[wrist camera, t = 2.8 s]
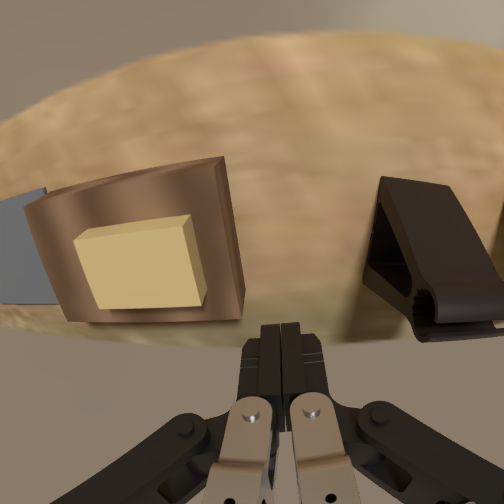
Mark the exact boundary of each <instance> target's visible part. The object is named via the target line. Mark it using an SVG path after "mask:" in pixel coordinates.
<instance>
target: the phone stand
mask: <svg viewBox="0 0 504 504" xmlns="http://www.w3.org/2000/svg"><path fill="white" fill-rule="evenodd" d="M372 229H373V233H372V234H371V239H370V245H369V250H368V255H367V260H366V265H365V269H364V274H363V284H364V285H366V286H367V287H368V288H370V289H371V290H372V291H374V292H375V293H376V294H378V295H379V296H380V297H382V298H383V299H384V300H386V301H387V302H388V303H390V304H391V305H392V306H393V307H395V308H396V309H397V310H399V311H400V312H401V313H403V314H404V315H405V316H406V317H407V319H408V320H409V322H410V324H411V327H412V329H413V333H414V335H415V337H416V339H417V340H418V341H420V342H422V343H424V342H425V343H426V342H442V341H456V340H467V339H478V338H488V337H497V336H504V328H499V329H496V328H495V326H494V325H493V322H492V320H503V319H504V282H503V281H502V280H501V278H500V277H499V275H498V274H497V272H496V270H495V268H494V266H493V264H492V262H491V260H490V257H489V255H488V253H487V251H486V249H485V247H484V246H483V244H482V242H481V240H480V238H479V236H478V234H477V232H476V230H475V229H474V227H473V225H472V223H471V221H470V220H469V218H468V216H467V214H466V213H465V211H464V209H463V208H462V206H461V204H460V203H459V201H458V199H457V198H456V196H455V195H454V193H453V191H452V190H451V188H450V187H449V186H446V185H440V184H434V183H428V182H421V181H414V180H407V179H400V178H393V177H385V176H381V178H380V184H379V191H378V198H377V205H376V211H375V217H374V223H373V228H372Z"/></svg>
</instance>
